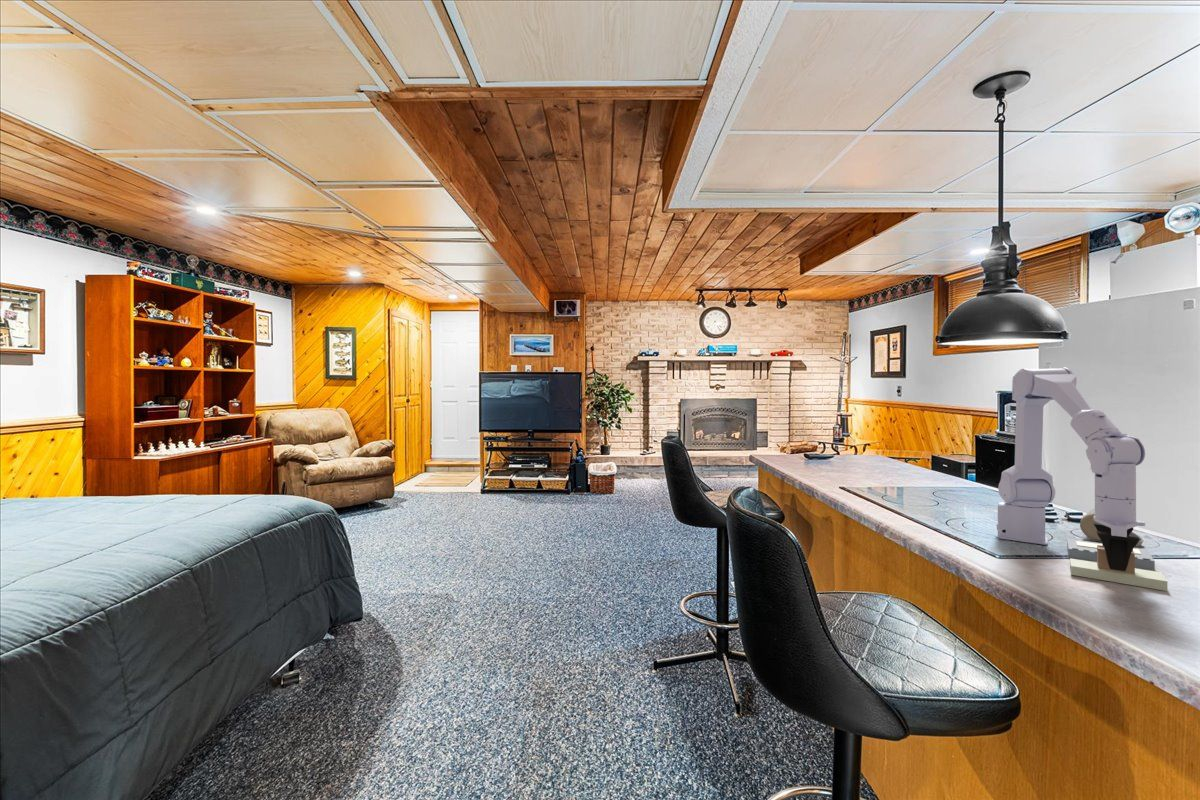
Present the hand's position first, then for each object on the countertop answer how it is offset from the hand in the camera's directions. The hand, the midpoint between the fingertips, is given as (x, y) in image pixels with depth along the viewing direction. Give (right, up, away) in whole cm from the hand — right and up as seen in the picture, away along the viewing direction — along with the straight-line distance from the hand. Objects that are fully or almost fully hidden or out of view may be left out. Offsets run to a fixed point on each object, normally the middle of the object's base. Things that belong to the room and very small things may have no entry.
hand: (1115, 564), depth 98 cm
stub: (0, -3, 0) cm, 3 cm away
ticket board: (+11, -3, +12) cm, 17 cm away
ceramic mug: (+25, -3, +25) cm, 35 cm away
